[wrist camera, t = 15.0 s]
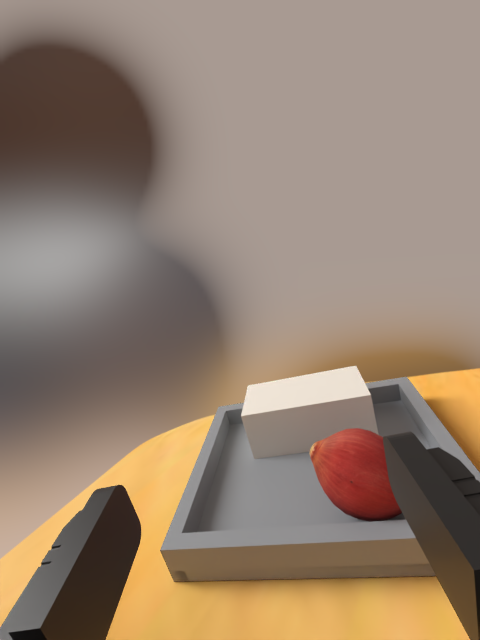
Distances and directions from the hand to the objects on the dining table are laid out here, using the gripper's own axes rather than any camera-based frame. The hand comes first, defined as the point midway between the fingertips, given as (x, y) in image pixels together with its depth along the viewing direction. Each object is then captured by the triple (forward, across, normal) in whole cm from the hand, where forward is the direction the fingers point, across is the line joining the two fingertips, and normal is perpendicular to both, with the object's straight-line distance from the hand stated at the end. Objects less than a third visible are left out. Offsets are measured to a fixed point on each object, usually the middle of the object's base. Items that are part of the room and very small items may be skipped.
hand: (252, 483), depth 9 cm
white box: (+20, -3, +14) cm, 25 cm away
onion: (+12, -2, +9) cm, 16 cm away
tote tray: (+16, -2, +15) cm, 22 cm away
